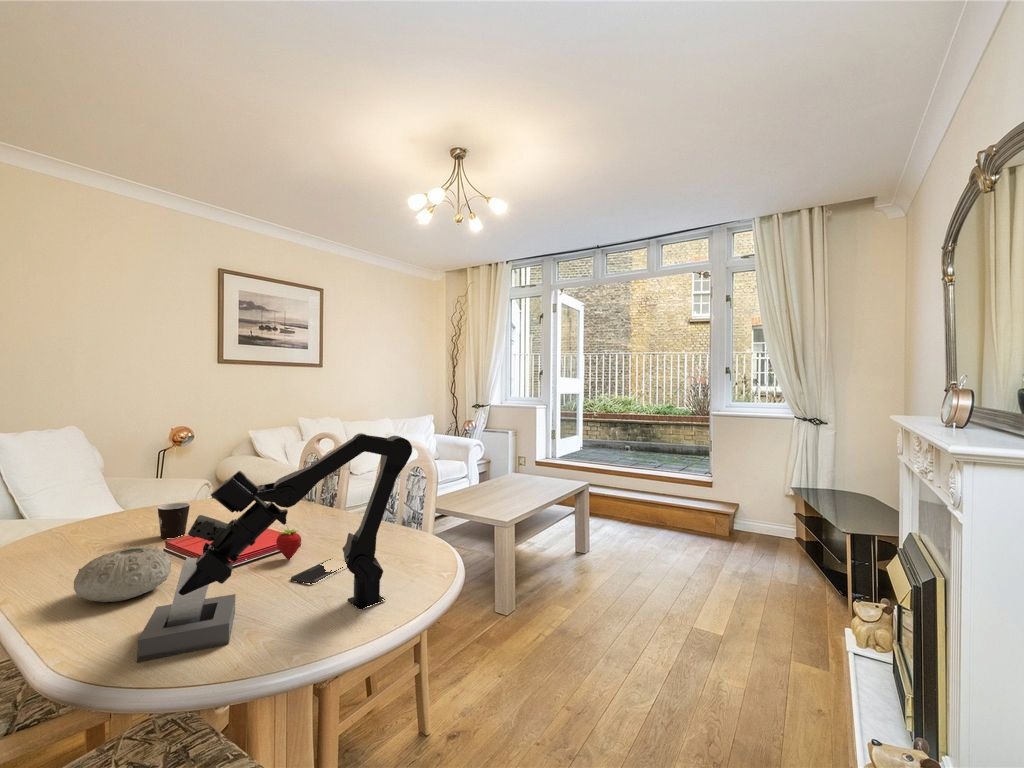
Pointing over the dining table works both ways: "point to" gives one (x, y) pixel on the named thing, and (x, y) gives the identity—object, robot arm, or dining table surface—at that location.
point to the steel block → (187, 599)
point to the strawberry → (288, 542)
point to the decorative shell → (122, 574)
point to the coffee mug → (173, 519)
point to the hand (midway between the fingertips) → (183, 588)
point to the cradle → (187, 630)
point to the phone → (312, 574)
